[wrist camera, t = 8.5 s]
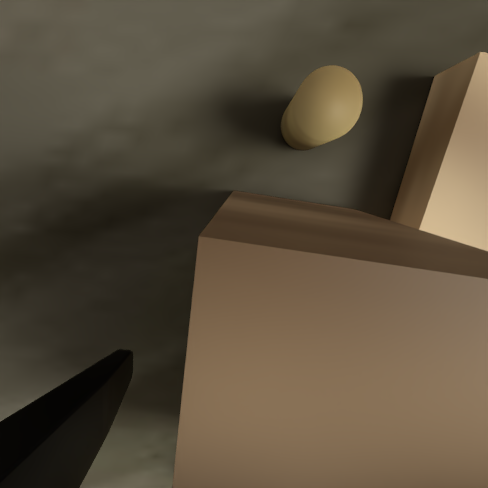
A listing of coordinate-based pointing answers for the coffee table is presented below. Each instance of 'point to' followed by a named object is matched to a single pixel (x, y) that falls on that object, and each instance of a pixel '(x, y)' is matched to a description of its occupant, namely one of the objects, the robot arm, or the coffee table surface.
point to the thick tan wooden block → (333, 353)
